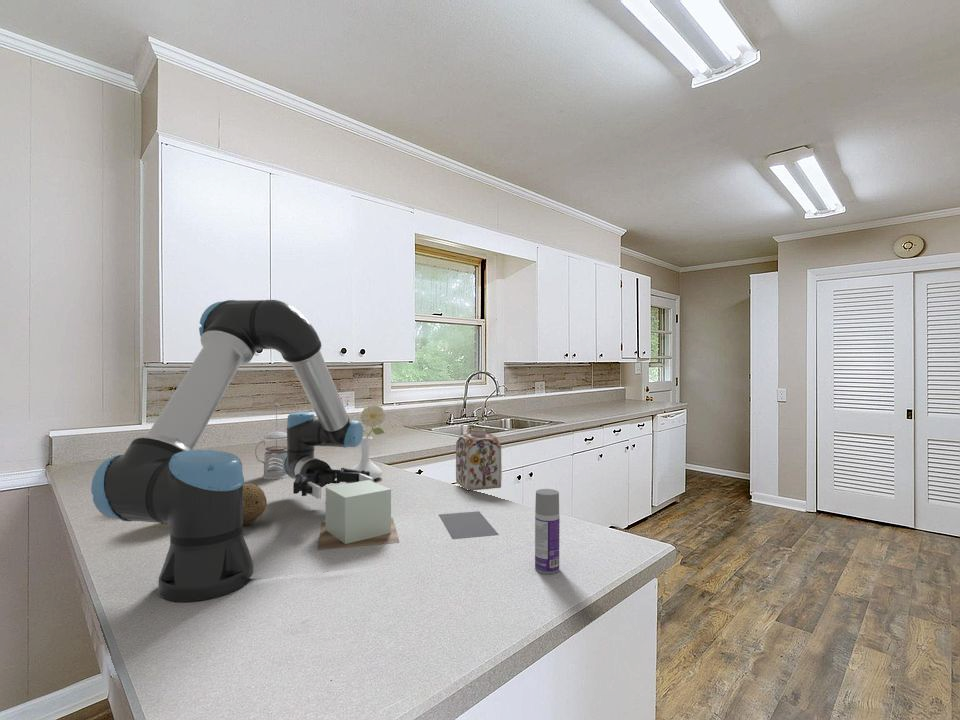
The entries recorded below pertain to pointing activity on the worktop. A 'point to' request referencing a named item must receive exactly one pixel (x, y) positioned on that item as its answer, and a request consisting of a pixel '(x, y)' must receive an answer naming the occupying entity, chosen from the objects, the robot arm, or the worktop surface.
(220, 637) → the worktop surface
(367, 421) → the flower in vase
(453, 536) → the mat
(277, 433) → the french press
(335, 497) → the pale mint green cube
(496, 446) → the decorative jar
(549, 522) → the container
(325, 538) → the board
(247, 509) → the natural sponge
